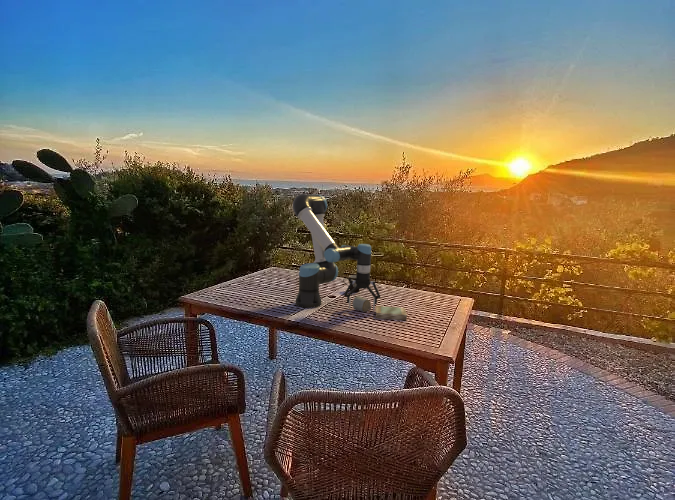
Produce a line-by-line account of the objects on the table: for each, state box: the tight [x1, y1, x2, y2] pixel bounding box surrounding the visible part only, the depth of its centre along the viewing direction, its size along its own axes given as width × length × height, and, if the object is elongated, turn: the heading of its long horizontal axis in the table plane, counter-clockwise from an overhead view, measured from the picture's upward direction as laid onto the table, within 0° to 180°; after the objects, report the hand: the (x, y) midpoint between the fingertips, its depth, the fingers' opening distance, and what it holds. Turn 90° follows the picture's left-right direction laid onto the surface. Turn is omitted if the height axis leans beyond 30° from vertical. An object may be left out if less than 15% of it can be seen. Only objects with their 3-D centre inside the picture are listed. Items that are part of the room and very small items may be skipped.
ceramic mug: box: [351, 295, 372, 313], centre depth 211 cm, size 11×8×8 cm
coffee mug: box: [342, 274, 361, 293], centre depth 251 cm, size 12×9×10 cm
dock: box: [375, 305, 408, 321], centre depth 204 cm, size 16×12×3 cm
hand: (361, 309), depth 211 cm, fingers open, 13 cm apart
